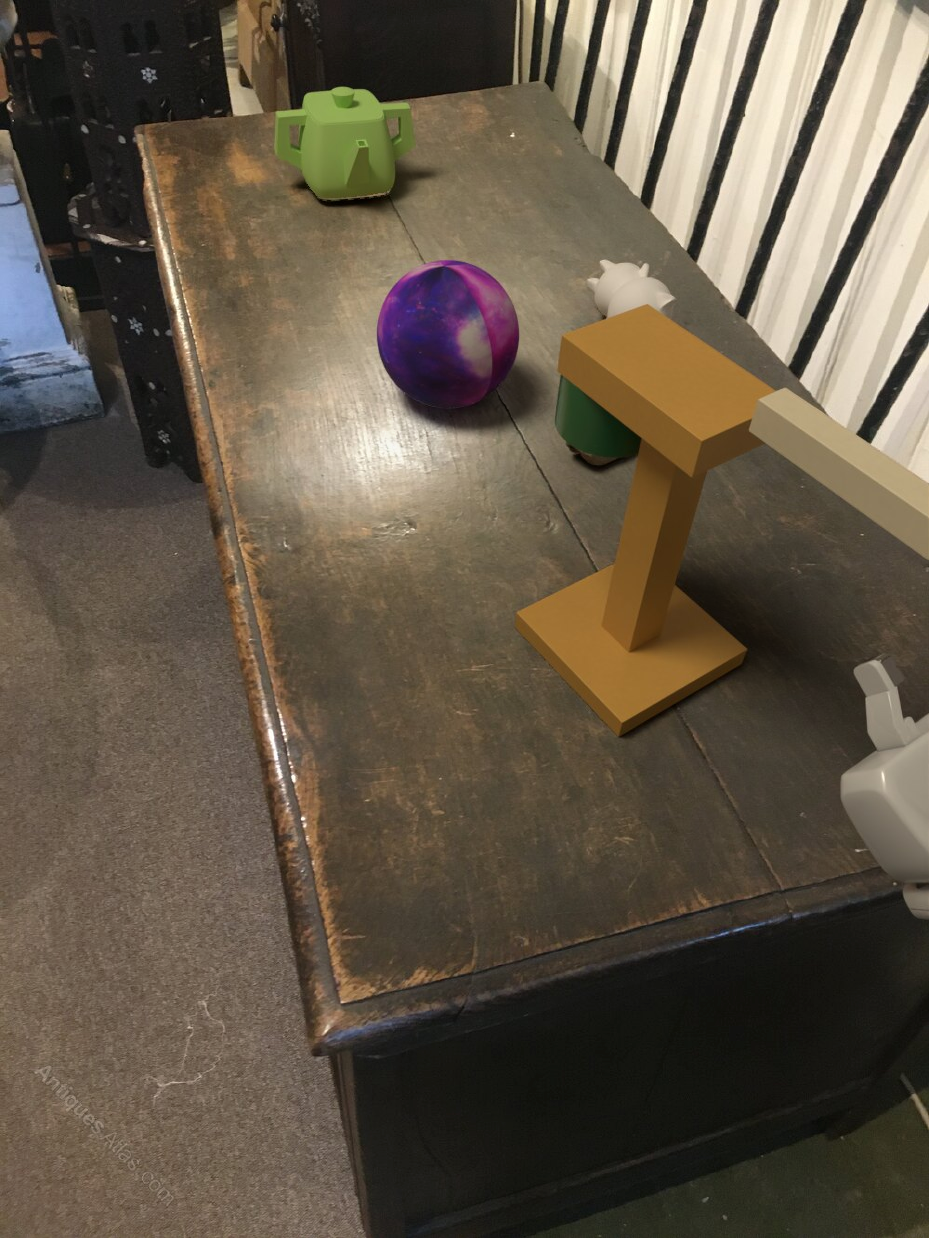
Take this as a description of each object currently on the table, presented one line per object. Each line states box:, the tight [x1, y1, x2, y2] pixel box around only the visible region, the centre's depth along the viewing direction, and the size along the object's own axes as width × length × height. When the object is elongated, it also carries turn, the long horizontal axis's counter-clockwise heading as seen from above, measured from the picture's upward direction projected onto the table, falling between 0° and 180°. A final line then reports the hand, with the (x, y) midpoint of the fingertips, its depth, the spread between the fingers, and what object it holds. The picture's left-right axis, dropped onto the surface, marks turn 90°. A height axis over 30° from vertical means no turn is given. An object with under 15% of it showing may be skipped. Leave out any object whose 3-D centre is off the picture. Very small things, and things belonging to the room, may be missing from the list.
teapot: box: [273, 86, 416, 202], centre depth 136 cm, size 18×20×13 cm
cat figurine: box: [586, 259, 677, 321], centre depth 116 cm, size 9×11×12 cm
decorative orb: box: [376, 259, 520, 410], centre depth 102 cm, size 15×15×15 cm
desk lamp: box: [514, 304, 777, 738], centre depth 75 cm, size 18×14×27 cm
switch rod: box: [749, 387, 929, 561], centre depth 56 cm, size 15×3×3 cm, turn 35°
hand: (922, 626), depth 56 cm, fingers open, 8 cm apart
